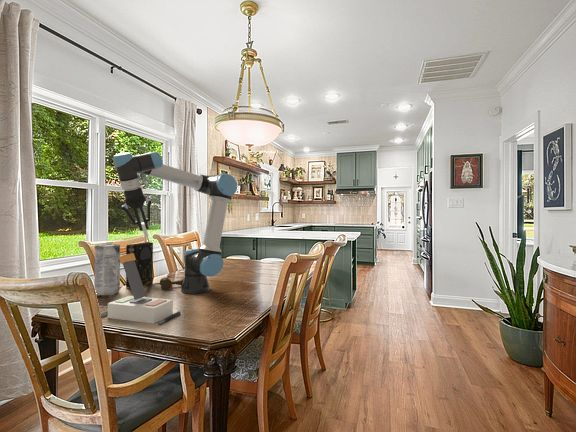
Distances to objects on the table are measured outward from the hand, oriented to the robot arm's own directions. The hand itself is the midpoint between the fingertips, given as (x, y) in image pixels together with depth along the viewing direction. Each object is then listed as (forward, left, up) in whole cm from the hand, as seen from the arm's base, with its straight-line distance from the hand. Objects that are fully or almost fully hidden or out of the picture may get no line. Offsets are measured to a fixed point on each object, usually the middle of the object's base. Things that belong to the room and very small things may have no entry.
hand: (146, 235), depth 148 cm
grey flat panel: (0, +19, -32) cm, 37 cm away
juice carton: (+20, -24, -32) cm, 45 cm away
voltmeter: (+6, -38, -32) cm, 50 cm away
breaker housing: (0, +19, -32) cm, 37 cm away
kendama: (-11, -29, -32) cm, 45 cm away
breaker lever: (0, +19, -25) cm, 31 cm away
